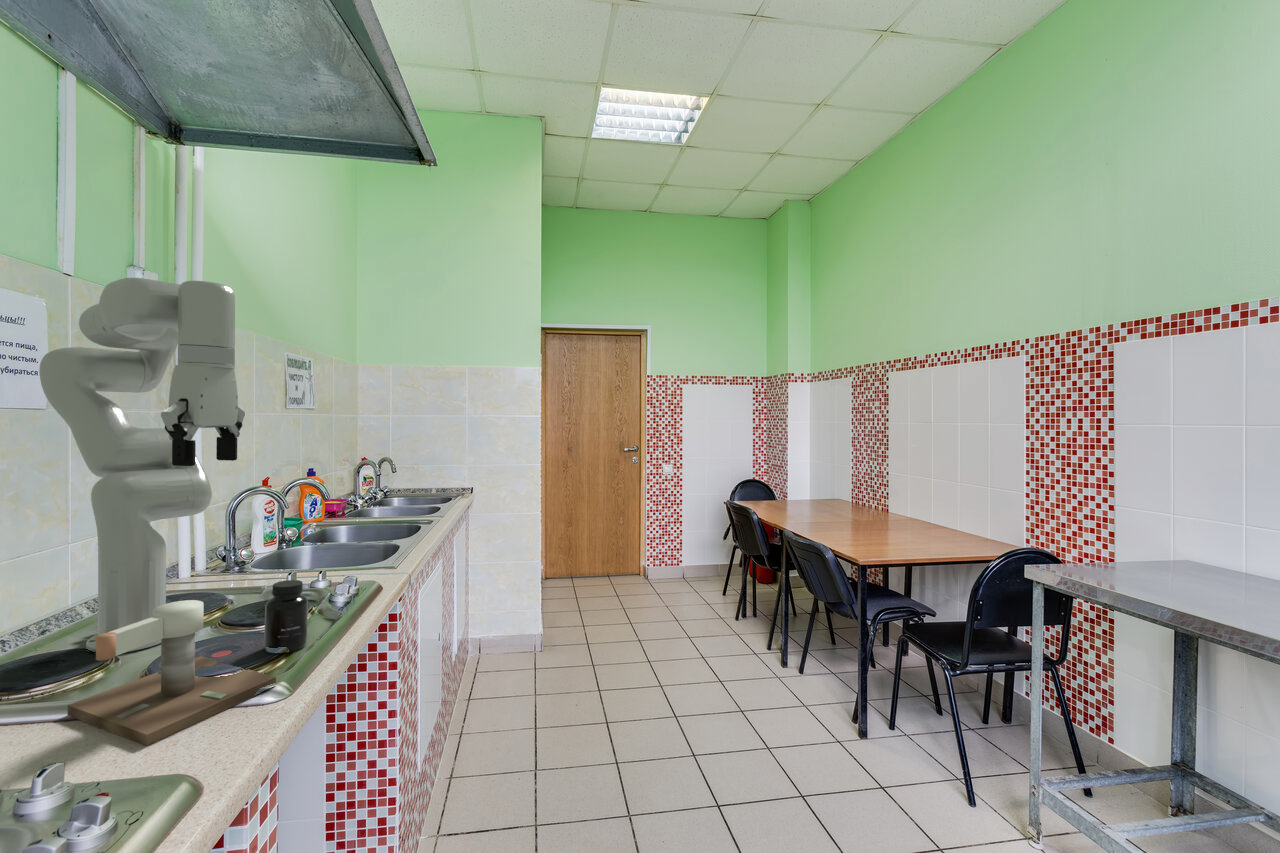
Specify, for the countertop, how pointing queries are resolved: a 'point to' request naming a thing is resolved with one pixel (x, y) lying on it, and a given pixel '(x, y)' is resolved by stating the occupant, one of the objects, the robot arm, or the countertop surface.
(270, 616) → the supplement bottle
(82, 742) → the countertop surface
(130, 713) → the base
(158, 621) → the cream orange-tipped lever
